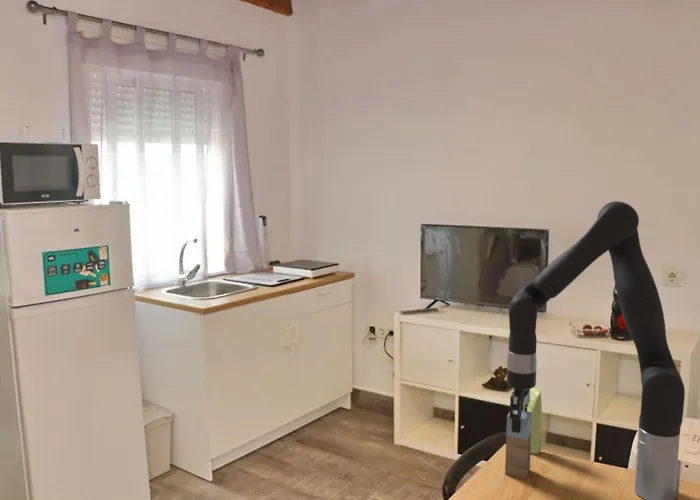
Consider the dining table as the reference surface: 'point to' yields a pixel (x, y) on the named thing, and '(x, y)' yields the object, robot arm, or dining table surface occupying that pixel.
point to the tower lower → (517, 466)
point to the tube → (535, 419)
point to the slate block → (525, 425)
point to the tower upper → (518, 447)
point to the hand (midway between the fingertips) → (519, 426)
